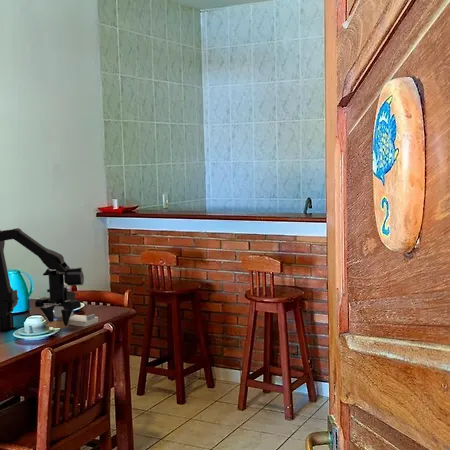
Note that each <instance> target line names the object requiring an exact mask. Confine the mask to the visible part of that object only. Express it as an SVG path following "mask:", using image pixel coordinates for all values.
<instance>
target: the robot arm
mask: <svg viewBox="0 0 450 450" xmlns="http://www.w3.org/2000/svg"><path fill="white" fill-rule="evenodd" d="M9 240H14V241H16V242H17V243H18V244H20V245H22V247H24V248H25V249H27V250H28V251H30V252H31V253H33V254H34V255H36V256H37V257H38V258H39V260H40V261H41V262H42V263H43V264H44V265H45V266H46V267H47V269H46V270H45V271H44V272H43V273H42V276H48V289H46V292H47V293H49V297H46V296H44V297H41V298H38V299H36V300H35V302H34V305H35V307H36V308H39V309H40V310H41V311H42V313H43V314H44V316H45V317H46V318H47V320H48V323H49V322H52V321H55V320H54V319H55V318H54V307H55V306H63V308H64V309H63V310H61V313H62V317H63V322H64V325H65V326H67V325H68V322H69V318H70V315H71V313H72V312H74V310H76V309H80V308H81V307H82V305H81V304H82V303H81V301H80V300H78V299H75V298H76V293H75V292H73V291H71V292H69V291H67V288H66V287H64V281H65V283H66V284H67V285H68V286H71V287H72V286H83V285H84V281H85V275H84V273H83V267H76V268H73V267H71V268H70V266H69V264H67V263H66V261H65V258H64V255H63V254H61V253H59V252H56V251H55V250H53V249H50V248H47V247H45V246H43V245H42V244H41V243H39V242H38V241H37V240H35V239H34V238H32V237H31V236H29V235H28V233H25V232H24V231H23V230H22V229H20V228H19V227H17V228H12V229H6V230H5V229H4V230H2V229H0V333H5V332H6V333H7V332H8V331H12V330H15V329H17V326H14V315H13V311H14V308H16V306H17V305H18V303H19V300H20V298H19V296H18V290H17V289H14V290H13V287H12V286H11V281H10V278H9V273H8V267H7V262H6V257H5V252H4V250H5V245H6V244H5V243H6V242H5V241H9ZM68 300H70V301H68ZM65 301H66V302H65ZM59 303H60V304H59ZM68 326H69V325H68Z"/></svg>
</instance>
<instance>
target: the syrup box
mask: <svg viewBox="0 0 450 450" xmlns="http://www.w3.org/2000/svg"><path fill="white" fill-rule="evenodd" d="M64 287H66V288H67V291H69V292H72V289H71V288H72V285H71V286H68V285H67V284H66V283H65V281H64ZM68 301H70V300H68ZM65 302H66V301H65ZM59 304H60V303H59ZM63 309H64V308H63V306H55V307H54V310H53V318H57V317H60V316H62V313H61V310H63Z"/></svg>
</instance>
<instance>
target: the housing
mask: <svg viewBox="0 0 450 450" xmlns="http://www.w3.org/2000/svg"><path fill="white" fill-rule="evenodd" d="M56 318H57V319H55V320H54V321H52V322H49V321H48V322H47V327H48V326H49V327H53V328H60V330H62V329H64V328H68V327H69V325H67V326H65V325H64V322H63V317H62V316H60V317H56Z"/></svg>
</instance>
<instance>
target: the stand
mask: <svg viewBox="0 0 450 450" xmlns="http://www.w3.org/2000/svg"><path fill="white" fill-rule="evenodd" d="M96 323H99V317H98V316H96V315H95V314H93V313H92V314H89V315H82V314H80V315H79V314H74V311H72V313H71V315H70V318H69V322H68V326H77V327H78V326H79V327H88V326H90V325H94V324H96Z"/></svg>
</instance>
